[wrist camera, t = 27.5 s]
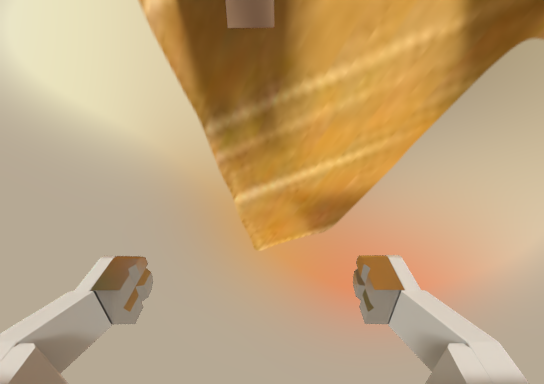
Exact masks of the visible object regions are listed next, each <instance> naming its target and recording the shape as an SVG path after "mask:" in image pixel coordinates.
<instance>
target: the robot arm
mask: <svg viewBox="0 0 544 384" xmlns="http://www.w3.org/2000/svg"><path fill="white" fill-rule="evenodd" d="M356 264H357V267H358V269H357V270H355V271H354V276H353V286H354V290H355V294H356V297H358V298H359V299H360V300H361V303H360V310H361V313H362V316H363V319H364V322H365V323H366V324H389V326H390V327H391V329H392V330H393V331H394V332H395V333H396V334H397V335H398V336H399V337H400V338H401V339H402V340H403V341H404V342H405V343H406V345H407V346H408V347H409V348H410V349H411V350H412V351H413V352H414V353H415V354H416V355H417V356H418V357H419V358H420V359H421V361H422V362H423V363H425V365H426V366H427V367H428V368H429V369H430V370H431V371H432V373H431V375H430V377H429V378H428V380H427V381H426V383H425V384H529V383H528V381H527V380H526V379H525V377H524V376H523V374H522V373H521V372H520V370H519V369H518V368H517V366H516V365H515V364H514V362H513V361H512V359H511V358H510V357H509V355H508V354H507V353H506V351H505V350H504V349H503V347H502V346H501V344H500V343H499V342H498V341H496V340H495V339H493V338H492V337H491V336H489V335H488V334H486V333H485V332H484V331H482V330H481V329H479V328H478V327H476V326H475V325H474V324H472V323H471V322H469V321H468V320H467V319H465V318H464V317H462V316H461V315H459V314H458V313H456V312H455V311H454V310H452V309H451V308H449V307H448V306H447V305H445V304H444V303H442V302H441V301H440V300H438V299H436V298H435V297H434V296H432V295H431V294H430V293H428V292H427V291H421V289H420V288H419V286H418V284H417V282H416V281H415V279H414V277H413V276H412V274H411V272H410V271H409V269H408V267H407V265H406V264H405V262H404V261H403V259H402V257H401V256H399V255H385V256H384V255H382V256H381V255H379V256H378V255H374V256H358V258H357V261H356ZM147 265H148V263H147V260H146V258H145V257H140V256H103V257H101V258H100V259H99V260H98V261H97V263H96V264H95V265H94V266H93V268H92V269H91V270H90V271H89V273H88V274H87V275H86V277H85V278H84V279H83V280H82V282H81V283H80V284H79V285H78V287H77V288H76V290H75V291H69V292H68V293H66V294H64V295H63V296H61V297H59V298H58V299H56V300H55V301H53V302H52V303H50V304H48V305H46V306H45V307H43V308H41V309H40V310H38V311H37V312H35V313H34V314H32V315H30V316H28V317H27V318H25V319H24V320H22V321H20V322H19V323H17V324H15V325H14V326H12V327H10V328H9V329H7V330H6V331H4V332H3V333H1V334H0V384H68V383H67V382H66V380H65V379H64V378H63V377H62V376H61V374H60V373H61V372H62V371H63V370H65V369H66V368H67V367H68V366H69V365H70V364H71V363H72V362H73V361H74V360H75V359H76V358H78V356H80V355H81V354H82V353H83V352H84V351H85V350H86V349H87V348H88V347H89V346H90V345H92V343H94V342H95V341H96V340H97V339H98V338H99V337H100V336H101V335H102V334H103V333H104V332H106V331H107V330H108V329H109V328H110V327H111V326H112V325H111V324H135V323H136V321H137V319H138V317H139V315H140V313H141V311H142V309H143V305H142V301H144V300H145V299H146V298H147V297H148V296H149V294H150V292H151V289H152V284H153V279H152V274H151V272H150V271H149V270H148V269H146V266H147Z"/></svg>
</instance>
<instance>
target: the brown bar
mask: <svg viewBox="0 0 544 384" xmlns="http://www.w3.org/2000/svg"><path fill="white" fill-rule="evenodd" d="M225 1H226V13H227V26H228V28H231V29H232V28H274V0H225Z"/></svg>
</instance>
